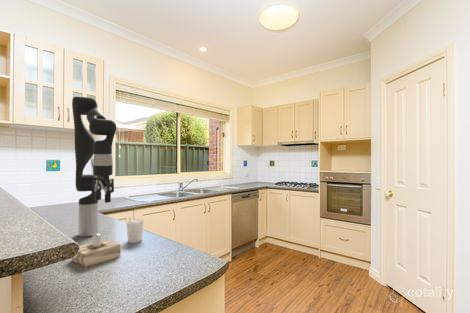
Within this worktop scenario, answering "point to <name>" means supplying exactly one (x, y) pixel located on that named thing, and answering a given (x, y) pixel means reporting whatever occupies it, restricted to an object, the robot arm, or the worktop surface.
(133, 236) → the white cup
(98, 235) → the steel pin
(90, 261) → the wooden peg hole block
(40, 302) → the worktop surface
